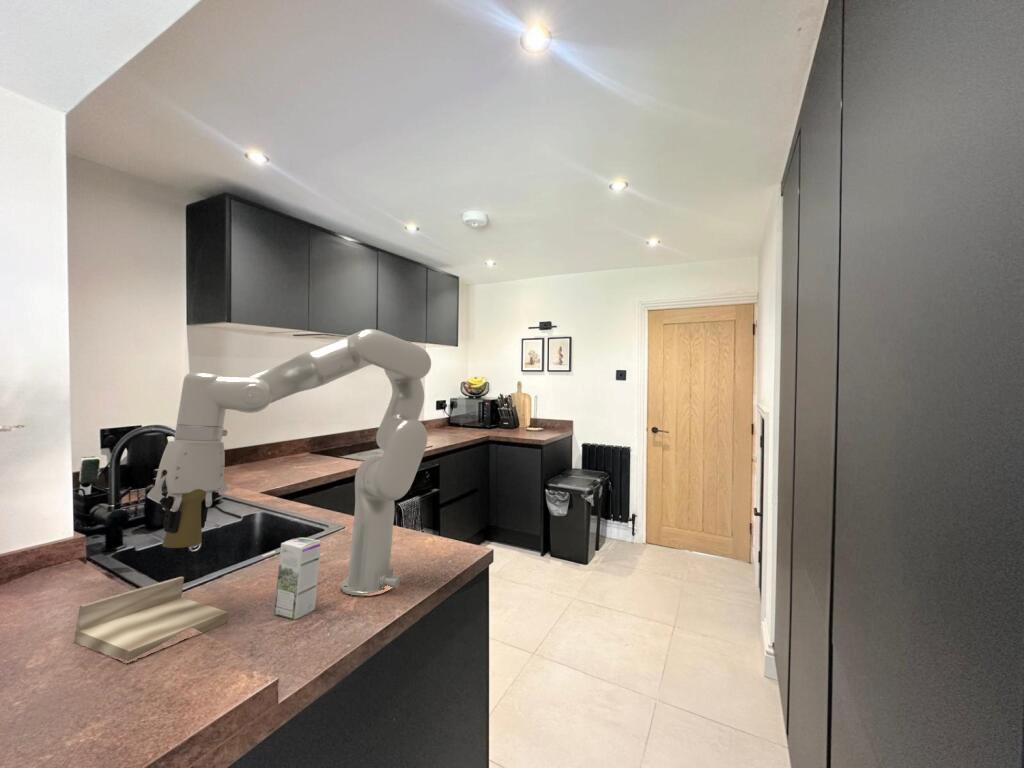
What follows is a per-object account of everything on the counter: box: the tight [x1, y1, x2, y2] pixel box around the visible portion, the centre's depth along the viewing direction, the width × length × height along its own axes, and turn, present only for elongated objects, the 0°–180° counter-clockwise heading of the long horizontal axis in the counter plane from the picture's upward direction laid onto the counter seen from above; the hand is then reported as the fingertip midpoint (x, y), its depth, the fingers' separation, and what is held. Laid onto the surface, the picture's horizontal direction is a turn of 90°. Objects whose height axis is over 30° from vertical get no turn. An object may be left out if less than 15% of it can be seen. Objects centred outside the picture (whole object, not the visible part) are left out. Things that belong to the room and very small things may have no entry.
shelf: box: [73, 576, 229, 661], centre depth 76 cm, size 15×16×6 cm
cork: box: [161, 489, 206, 549], centre depth 81 cm, size 6×6×11 cm
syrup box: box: [273, 536, 322, 621], centre depth 87 cm, size 6×6×14 cm
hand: (184, 528), depth 80 cm, fingers closed on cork, 4 cm apart
